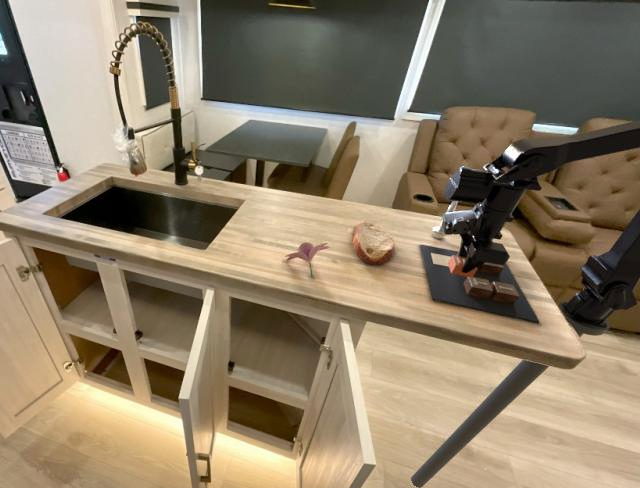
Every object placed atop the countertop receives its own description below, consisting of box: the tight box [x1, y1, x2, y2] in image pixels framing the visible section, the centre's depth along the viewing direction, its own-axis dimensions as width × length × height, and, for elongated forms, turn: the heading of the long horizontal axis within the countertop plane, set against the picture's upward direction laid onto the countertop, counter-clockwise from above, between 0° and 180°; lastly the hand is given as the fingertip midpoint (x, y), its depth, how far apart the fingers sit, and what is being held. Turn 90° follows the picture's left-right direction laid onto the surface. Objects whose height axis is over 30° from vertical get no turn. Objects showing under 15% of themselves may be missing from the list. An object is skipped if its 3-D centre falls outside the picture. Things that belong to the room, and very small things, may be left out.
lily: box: [284, 241, 331, 278], centre depth 82 cm, size 12×12×10 cm
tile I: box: [491, 281, 520, 304], centre depth 77 cm, size 4×4×3 cm
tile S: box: [448, 255, 477, 278], centre depth 76 cm, size 4×4×3 cm
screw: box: [431, 201, 459, 240], centre depth 97 cm, size 13×5×5 cm
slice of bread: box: [352, 220, 395, 265], centre depth 94 cm, size 18×18×4 cm
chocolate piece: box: [464, 277, 493, 299], centre depth 78 cm, size 4×4×3 cm
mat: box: [420, 244, 540, 324], centre depth 84 cm, size 22×26×1 cm
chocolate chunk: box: [478, 262, 504, 275], centre depth 86 cm, size 4×4×3 cm
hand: (461, 266), depth 77 cm, fingers closed on tile S, 4 cm apart
